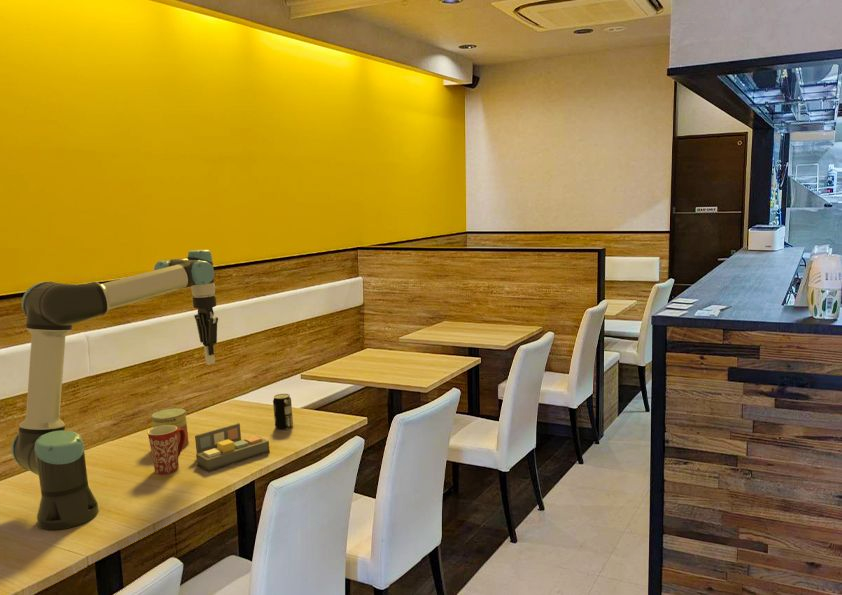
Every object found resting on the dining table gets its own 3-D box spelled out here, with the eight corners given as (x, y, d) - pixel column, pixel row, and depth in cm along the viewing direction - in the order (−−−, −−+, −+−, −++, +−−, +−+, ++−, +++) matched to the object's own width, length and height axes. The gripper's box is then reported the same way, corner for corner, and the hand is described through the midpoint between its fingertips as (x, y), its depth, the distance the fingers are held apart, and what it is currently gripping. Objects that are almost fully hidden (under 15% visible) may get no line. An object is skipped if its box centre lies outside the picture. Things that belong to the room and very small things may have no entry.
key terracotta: (251, 451, 237) (250, 441, 236) (245, 449, 240) (244, 439, 239) (262, 448, 240) (261, 438, 239) (256, 445, 242) (255, 435, 242)
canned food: (148, 451, 246) (145, 418, 244) (165, 440, 257) (162, 408, 255) (178, 452, 244) (175, 418, 242) (194, 440, 255) (191, 408, 253)
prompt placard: (198, 459, 236) (196, 436, 235) (197, 458, 237) (194, 435, 236) (241, 445, 247) (239, 423, 246) (240, 445, 248) (238, 423, 247)
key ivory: (209, 465, 227) (208, 454, 226) (204, 462, 230) (203, 451, 229) (221, 461, 230) (220, 451, 229) (215, 458, 232) (214, 448, 232)
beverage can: (274, 425, 267) (271, 394, 265) (292, 423, 269) (289, 392, 267) (276, 431, 261) (273, 399, 259) (294, 428, 263) (291, 397, 261)
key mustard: (223, 455, 230) (222, 445, 229) (217, 452, 233) (216, 442, 232) (234, 452, 233) (234, 442, 232) (229, 449, 236) (228, 439, 235)
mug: (164, 477, 222) (159, 436, 220) (145, 472, 227) (141, 432, 225) (196, 463, 233) (192, 423, 231) (177, 459, 238) (173, 420, 235)
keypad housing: (208, 472, 225) (207, 460, 224) (197, 465, 231) (196, 454, 230) (269, 452, 239) (268, 441, 239) (257, 446, 245) (256, 435, 244)
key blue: (238, 456, 234) (237, 446, 233) (232, 453, 236) (231, 443, 236) (249, 452, 236) (248, 442, 236) (243, 449, 239) (242, 439, 239)
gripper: (223, 295, 238) (229, 364, 241) (205, 292, 247) (211, 358, 251) (202, 298, 233) (209, 368, 237) (184, 295, 242) (191, 363, 246)
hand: (210, 363), depth 244 cm, fingers closed
